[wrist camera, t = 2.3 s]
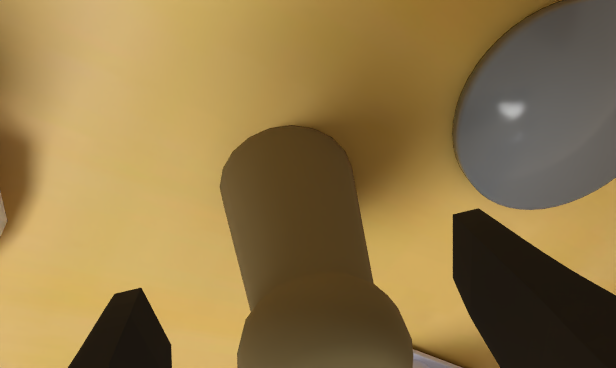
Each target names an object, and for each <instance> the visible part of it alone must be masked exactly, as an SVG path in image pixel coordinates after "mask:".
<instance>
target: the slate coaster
mask: <svg viewBox="0 0 616 368" xmlns="http://www.w3.org/2000/svg"><path fill="white" fill-rule="evenodd" d="M452 136H453V148H454V152H455V156H456V159H457V161H458V164H459V166H460V168H461V170H462V171H463V173H464V174H465V176H466V177H467V178H468V180H469V181H470V182H471V184H472V185H473V186H474V187H475V188H476V189H477V190H478V191H479V192H480V193H481V194H482V195H483V196H485V197H486V198H487V199H489V200H491V201H493V202H495V203H497V204H499V205H503V206H506V207H509V208H515V209H526V210H534V209H545V208H550V207H556V206H559V205H563V204H566V203H569V202H572V201H575V200H577V199H580V198H582V197H584V196H586V195H588V194H590V193H592V192H594V191H596V190H598V189H599V188H601V187H603V186H604V185H606V184H607V183H609V182H610V181H612V180H613V179H614V178H616V0H563V1H560V2H557V3H555V4H552V5H550V6H547V7H545V8H543V9H541V10H539V11H537V12H535V13H534V14H532V15H530V16H528V17H527V18H525V19H524V20H522V21H521V22H520V23H518V24H517V25H515V26H514V27H512V28H511V29H510V30H509V31H508V32H507V33H505V34H504V35H503V36H502V37H501V38H500V39H499V40H498V41H497V42H496V43H495V44H494V45H493V46H492V47H491V48H490V49H489V50H488V51H487V52H486V54H485V55H484V56H483V58H482V59H481V60H480V62H479V63H478V64H477V65H476V67H475V69H474V70H473V72H472V73H471V75H470V77H469V78H468V80H467V82H466V84H465V86H464V88H463V91H462V93H461V95H460V98H459V101H458V104H457V107H456V111H455V116H454V120H453V132H452Z"/></svg>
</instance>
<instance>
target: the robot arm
mask: <svg viewBox="0 0 616 368" xmlns="http://www.w3.org/2000/svg"><path fill="white" fill-rule="evenodd" d="M453 279H454V281H455V284H456V286H457V288H458V291H459V293H460V295H461V298H462V300H463V302H464V304H465V306H466V309H467V311H468V313H469V315H470V317H471V319H472V321H473V322H474V324H475V326H476V328H477V329H478V331H479V333H480V334H481V336H482V338H483V339H484V341H485V343H486V344H487V346H488V348H489V349H490V351H491V353H492V354H493V356H494V358H495V359H496V361H497V363H498V364H499V366H500V368H616V295H614V294H612V293H610V292H608V291H607V290H605V289H603V288H601V287H600V286H598V285H596V284H594V283H593V282H591V281H589V280H587V279H586V278H584V277H582V276H580V275H579V274H577V273H575V272H574V271H572V270H570V269H569V268H567V267H565V266H564V265H562V264H561V263H559V262H558V261H556V260H554V259H553V258H551V257H550V256H548V255H547V254H545V253H544V252H542V251H540V250H539V249H537V248H536V247H534V246H533V245H531V244H530V243H528V242H527V241H525V240H524V239H522V238H521V237H520V236H518V235H517V234H515V233H514V232H512V231H511V230H509V229H508V228H506V227H505V226H504V225H502V224H501V223H499V222H498V221H496V220H495V219H493V218H492V217H490V216H489V215H488V214H486V213H485V212H483V211H482V210H480V209H474V210H470V211H466V212H462V213H457V214H453ZM68 368H172V359H171V344H170V342H169V340H168V338H167V336H166V334H165V332H164V330H163V329H162V327H161V325H160V323H159V321H158V319H157V317H156V315H155V313H154V311H153V309H152V307H151V305H150V303H149V302H148V300H147V298H146V296H145V294H144V292H143V290H142V288H138V289H134V290H129V291H125V292H121V293H117V294H114V296H113V297H112V299H111V300H110V302H109V303H108V305H107V306H106V308H105V310H104V311H103V313H102V314H101V316H100V318H99V319H98V321H97V322H96V324H95V326H94V327H93V329H92V331H91V332H90V334H89V335H88V337H87V339H86V340H85V342H84V343H83V345H82V347H81V348H80V350H79V351H78V353H77V355H76V356H75V358H74V359H73V361H72V362H71V364H70V365H69V367H68ZM413 368H462V367H460V366H457V365H454V364H452V363H449V362H446V361H444V360H441V359H438V358H436V357H433V356H430V355H428V354H425V353H422V352H420V351H417V350H414V349H413Z"/></svg>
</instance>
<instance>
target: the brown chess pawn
mask: <svg viewBox="0 0 616 368" xmlns="http://www.w3.org/2000/svg"><path fill="white" fill-rule="evenodd" d="M220 190H221V195H222V200H223V204H224V208H225V212H226V216H227V220H228V224H229V228H230V232H231V236H232V240H233V244H234V247H235V251H236V255H237V259H238V263H239V267H240V271H241V275H242V279H243V283H244V287H245V291H246V295H247V299H248V303H249V307H250V310H251V313H250V315H249V316H248V317H247V319H246V320H245V324H244V328H243V332H242V336H241V340H240V344H239V348H238V353H237V365H238V368H413V347H412V339H411V337H410V334H409V332H408V330H407V327H406V325H405V323H404V320H403V318H402V316H401V314H400V312H399V310H398V308H397V306H396V305H395V304H394V303H393V301H392V300H391V299H390V298H389V297H388V295H386V294H385V293H384V292H383V291H382V290H380V289H379V288H378V287H377V286H376V285H374V284H373V278H372V273H371V267H370V262H369V257H368V251H367V246H366V241H365V235H364V230H363V225H362V219H361V214H360V209H359V203H358V198H357V192H356V187H355V182H354V176H353V171H352V167H351V164H350V162H349V160H348V157H347V155H346V153H345V151H344V150H343V149H342V148H341V147H340V146H339V145H338V144H337V143H336V142H335V141H334V140H333V138H331V137H329V136H327V135H325V134H323V133H321V132H319V131H317V130H315V129H312V128H305V127H298V126H285V127H278V128H270V129H268V130H265V131H263V132H261V133H259V134H256V135H254V136H252V137H250V138H248V139H247V140H246V141H245V142H244V143H242V144H241V145H240V146H239V147H238V148H237V149H236V150H234V151H233V152H232V154H231V156H230V158H229V159H228V161H227V163H226V164H225V166H224V168H223V171H222V177H221V183H220Z"/></svg>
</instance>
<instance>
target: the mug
mask: <svg viewBox="0 0 616 368" xmlns="http://www.w3.org/2000/svg"><path fill="white" fill-rule="evenodd" d="M6 223H7V217H6V213H5V209H4V204H3V200H2V196H1V192H0V236H1V234H2V232H3V230H4V228H5V225H6Z"/></svg>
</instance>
